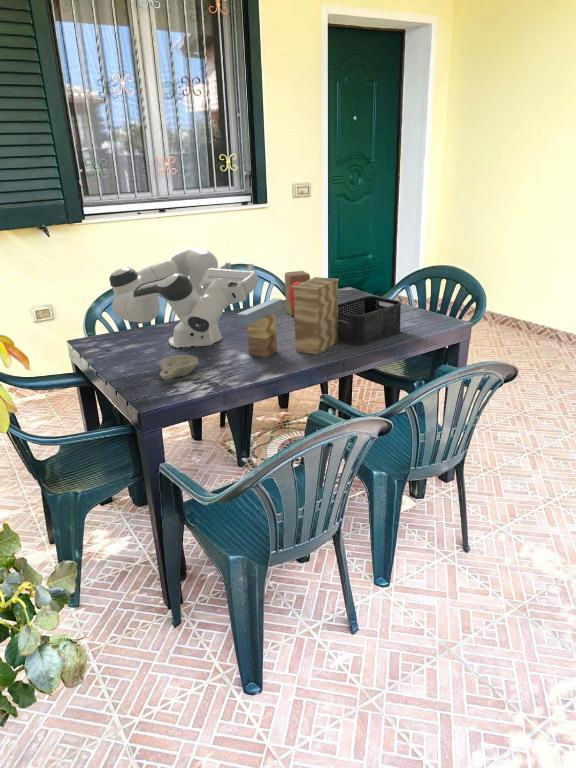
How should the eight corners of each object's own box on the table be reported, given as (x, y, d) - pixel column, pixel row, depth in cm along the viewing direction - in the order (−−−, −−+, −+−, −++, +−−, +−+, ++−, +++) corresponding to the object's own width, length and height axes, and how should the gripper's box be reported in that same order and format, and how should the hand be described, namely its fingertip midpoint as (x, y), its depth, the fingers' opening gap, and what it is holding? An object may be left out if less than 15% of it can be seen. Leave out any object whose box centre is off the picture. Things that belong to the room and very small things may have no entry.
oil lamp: (185, 388, 197) (184, 374, 195) (146, 386, 200) (144, 373, 198) (205, 367, 216) (204, 354, 214) (169, 365, 219) (167, 353, 217)
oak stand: (318, 354, 223) (317, 288, 214) (294, 351, 229) (292, 286, 219) (339, 341, 238) (338, 279, 228) (316, 338, 243) (315, 277, 234)
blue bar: (246, 325, 212) (246, 314, 210) (237, 324, 214) (237, 313, 212) (282, 308, 232) (282, 298, 231) (274, 307, 234) (273, 298, 233)
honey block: (265, 338, 220) (264, 320, 218) (247, 336, 224) (246, 317, 222) (276, 333, 227) (275, 314, 224) (259, 330, 231) (257, 312, 228)
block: (285, 312, 285) (284, 272, 277) (304, 310, 287) (303, 270, 280) (291, 317, 276) (290, 275, 268) (311, 314, 278) (310, 273, 271)
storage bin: (357, 347, 230) (357, 315, 225) (324, 337, 244) (323, 307, 239) (403, 332, 247) (404, 301, 242) (370, 324, 261) (370, 295, 256)
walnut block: (266, 357, 223) (265, 338, 221) (249, 354, 227) (248, 336, 224) (276, 351, 230) (276, 333, 227) (260, 348, 234) (259, 330, 231)
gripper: (200, 296, 198) (219, 269, 204) (249, 301, 188) (267, 273, 195) (192, 282, 193) (212, 255, 200) (242, 286, 183) (262, 258, 190)
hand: (240, 264), depth 197 cm, fingers open, 8 cm apart
